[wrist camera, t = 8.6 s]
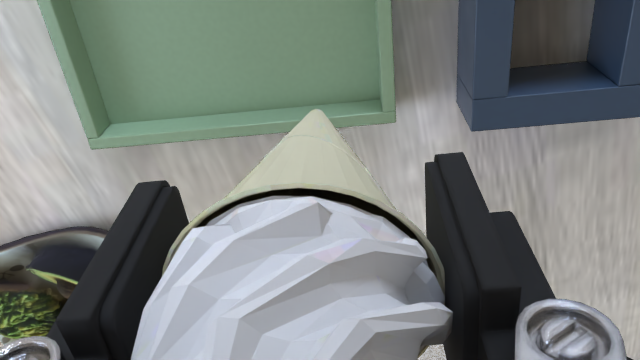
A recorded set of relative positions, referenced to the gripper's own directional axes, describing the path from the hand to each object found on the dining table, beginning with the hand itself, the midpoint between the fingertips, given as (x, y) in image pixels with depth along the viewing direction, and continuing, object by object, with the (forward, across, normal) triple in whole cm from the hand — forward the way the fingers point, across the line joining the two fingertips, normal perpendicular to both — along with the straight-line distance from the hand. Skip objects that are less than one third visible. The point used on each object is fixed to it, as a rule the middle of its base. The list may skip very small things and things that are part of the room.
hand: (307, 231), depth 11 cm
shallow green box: (+24, +6, -1) cm, 25 cm away
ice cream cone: (+6, 0, 0) cm, 6 cm away
